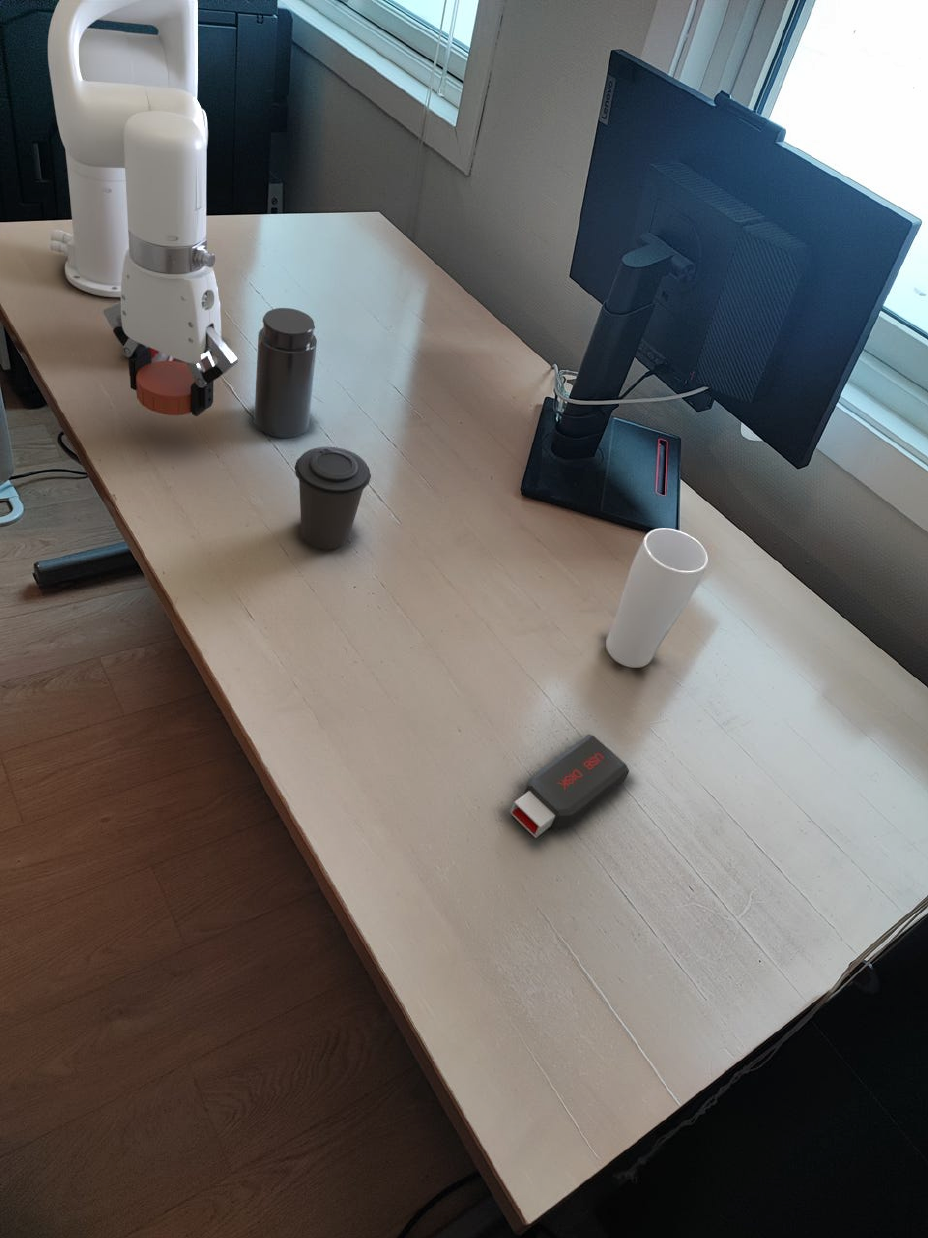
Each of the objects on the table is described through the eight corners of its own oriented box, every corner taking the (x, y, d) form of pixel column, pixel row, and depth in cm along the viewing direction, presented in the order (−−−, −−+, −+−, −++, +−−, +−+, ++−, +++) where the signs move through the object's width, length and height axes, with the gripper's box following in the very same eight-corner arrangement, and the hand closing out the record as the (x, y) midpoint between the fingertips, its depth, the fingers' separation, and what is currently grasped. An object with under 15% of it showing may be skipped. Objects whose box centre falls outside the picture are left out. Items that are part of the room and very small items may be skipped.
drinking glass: (587, 633, 104) (631, 529, 94) (640, 626, 107) (688, 524, 96) (614, 679, 100) (663, 576, 90) (668, 671, 103) (721, 569, 92)
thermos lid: (126, 385, 109) (125, 366, 107) (186, 374, 113) (186, 356, 111) (154, 420, 105) (153, 401, 103) (215, 408, 109) (216, 389, 107)
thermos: (245, 428, 118) (250, 324, 108) (266, 401, 123) (272, 299, 113) (297, 444, 118) (307, 341, 108) (316, 416, 123) (326, 316, 113)
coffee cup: (318, 501, 111) (326, 430, 104) (375, 533, 109) (387, 463, 102) (273, 534, 105) (279, 461, 98) (332, 568, 103) (342, 496, 96)
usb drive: (625, 780, 91) (634, 763, 89) (542, 847, 84) (550, 830, 82) (585, 744, 93) (593, 727, 91) (501, 806, 86) (508, 789, 84)
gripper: (261, 265, 98) (254, 410, 110) (119, 209, 101) (127, 357, 113) (220, 290, 93) (218, 440, 105) (71, 230, 96) (85, 383, 108)
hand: (171, 396), depth 109 cm, fingers closed on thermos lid, 7 cm apart
